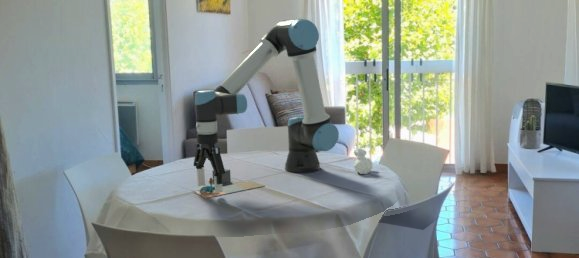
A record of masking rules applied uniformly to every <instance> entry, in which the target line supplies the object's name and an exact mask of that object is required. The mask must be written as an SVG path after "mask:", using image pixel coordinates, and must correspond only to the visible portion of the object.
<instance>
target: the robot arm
mask: <svg viewBox="0 0 579 258" xmlns="http://www.w3.org/2000/svg"><path fill="white" fill-rule="evenodd" d="M319 38H320V33H319V30H318V27H317V26H316V24H314V23H313V22H312V21H311V20H309V19H306V18H305V19H304V18H295V19H285V20H282V21H279V22H278V23H276V24H275V25H273V27H271V28H270V29H269V30H268V31H267V32H266V33H265V34H264V35H263V36H262V38H260V40H259V44H257V46H256V47H255V48H254V49H253V50H252V51H251V52H250V53H249V54H248V55H247V56H246V57H245V58H244V59H243V61H242V62H241V63H240V64H238V66H237V67H236V68H235V69H234V70H233V71H232V72H231V73H229V75H228V76H227V77H226V78H225V79H224V80H223V81H222V82H221V83H220V84H219V85H218V86H217V87H216V88H215V89H214V90H212V89H207V90H205V89H203V90H197V91H196V92H195V94H194V98H195V99H194V106H195V108H194V109H195V118H196V119H195V122H196V123H195V124H196V125H195V128H196V132H197V134H196V142H197V143H196V145H195V146H196V148H195V150H196V151H195V155H194V159H193V167H195V169H196V177H197V179H196V180H197V186H198V187H202V186H206V180H205V179H206V177H205V176H206V175H205V164H206V163H205V162H206V161H207V160H208V161H209V162H210V165H211V167H212V171H214V172H215V174H214V183H213V184H215V185H214V186H215V193H220V192H222V186H223V184H222V175H223V174H225V169H226V168H225V165H224V163H223V160H222V156H221V149H220V147H219V146H218V147H216V146H215V144H217V143H218V142H219V138H218V116H225V115H228V116H229V115H239V114H243V113H245V112H246V111H247V109H248V99H247V97H246V95H245V94H244V93H241V91H242V90H243V89H244V88H245V86H247V85H248V83H250V82H251V80H252V79H253V78H254V77H255V76H256V75H257V74H258V73H259V72H260V71H261V70H262V69H263V68H264V67H265V66H266V65H267V64H268V63H269V62H270V61H271V60H272V59H273V58H274V57H276V58H277V57H278V56H279V55H280V54H282V52H284V51H286V54H287V58H289V59H291V60H292V64H293V68H294V72H295V73H294V74H295V78H296V81H297V87H298V92H299V97H300V99H301V100H300V101H301V106H302V109H303V115H304V116H296V117H295V116H294V117H290V118H289V119H288V121H287V132H288V135H287V136H288V137H287V138H288V153H287V157H286V161H285V164H284V165H285V167H284V169H285V171H287V172H291V173H312V172H317V171H319V170H320V169H321V165H320V160H319V157H318V155H317V152H316V151H319V152H328V151H330V150H332V149H334V147H335V146H336V144H337V143H338V141H339V138H340V137H339V130H338V127H337V126H335V124H333V123H332V120H331V115H330V114H328V113H327V112H326V109H325V103H324V100H323V94H322V89H321V85H320V80H319V76H318V71H317V65H316V60H315V54H316V52H317V44H318V42H319Z"/></svg>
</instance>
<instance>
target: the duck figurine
mask: <svg viewBox="0 0 579 258" xmlns="http://www.w3.org/2000/svg"><path fill="white" fill-rule="evenodd" d="M353 153H354V154H353V155H355V157H357V158H356V160H355V161H354V171H355V172H357V173H359V174H360V175H367V174H369V173H371V172H372V169H373V162H372V159H371V158H370V157H366V155H367V151H366V150H365V148H361V147H360V148H356V149H354V151H353Z"/></svg>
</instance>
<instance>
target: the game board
mask: <svg viewBox="0 0 579 258" xmlns="http://www.w3.org/2000/svg"><path fill="white" fill-rule="evenodd" d="M265 186H266V185H264V184H261V183H258V182H256V181H253V180H248V181H244V182H238V183H233V184H228V185H222V192H220V193H215V190H214V191H212V192H211V193H210V192H206V193H204V192H205V191H204V190H202V191H201V192H202V195H201V193H200V190H196V191H193V194H196V195H198V194H199V195H198V196H200V197H202V198H205V199H210V198H213V197H218V196H223V195H224V196H225V195H229V194H234V193H235V194H236V193H239V192H244V191H249V190H252V189H259V188H263V187H265ZM195 192H197V193H198V194H197V193H195ZM209 193H210V194H209Z"/></svg>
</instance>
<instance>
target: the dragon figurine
mask: <svg viewBox="0 0 579 258" xmlns="http://www.w3.org/2000/svg"><path fill="white" fill-rule="evenodd" d="M208 183H209V185H205V186H203V187H201V188H200V190H199V191H200V193H201V195H202V192H201V191H202V190H204V191H205V192H204V193H206V192H210V193H211V192H212V191H214V190H215V184H214V181H213V177H210V178H209V181H208ZM213 184H214V186H213ZM194 192H195V193H197V192H196V191H194ZM195 193H194V194H195ZM210 193H209V194H210ZM196 195H198V196H200V195H199V194H198V193H197V194H196Z"/></svg>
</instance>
